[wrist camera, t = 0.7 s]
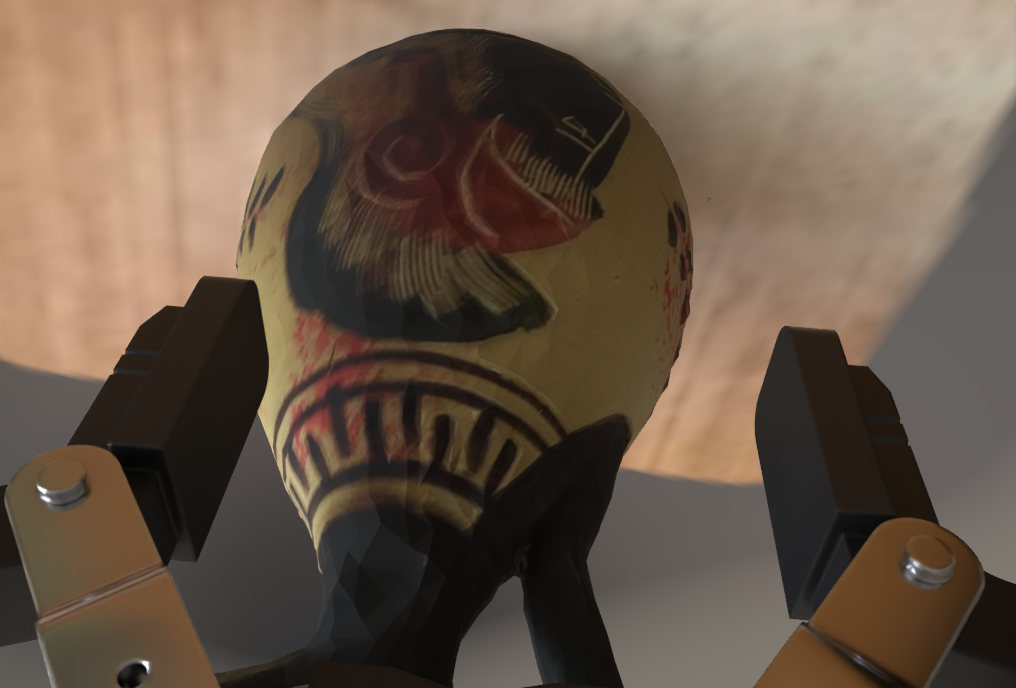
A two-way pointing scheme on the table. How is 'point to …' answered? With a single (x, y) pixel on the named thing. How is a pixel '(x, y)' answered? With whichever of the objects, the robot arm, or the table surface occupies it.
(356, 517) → the ceramic jug
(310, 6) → the table surface
